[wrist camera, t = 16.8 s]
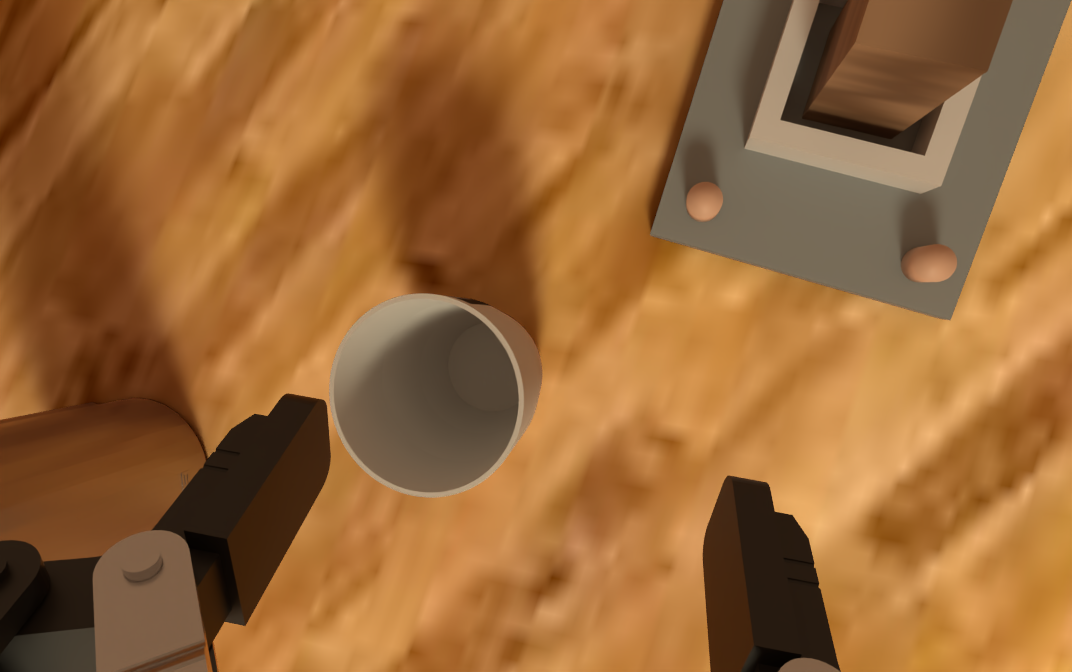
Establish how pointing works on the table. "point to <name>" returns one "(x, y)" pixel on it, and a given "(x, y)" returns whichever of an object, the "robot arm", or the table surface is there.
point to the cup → (433, 392)
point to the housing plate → (845, 160)
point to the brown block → (901, 60)
